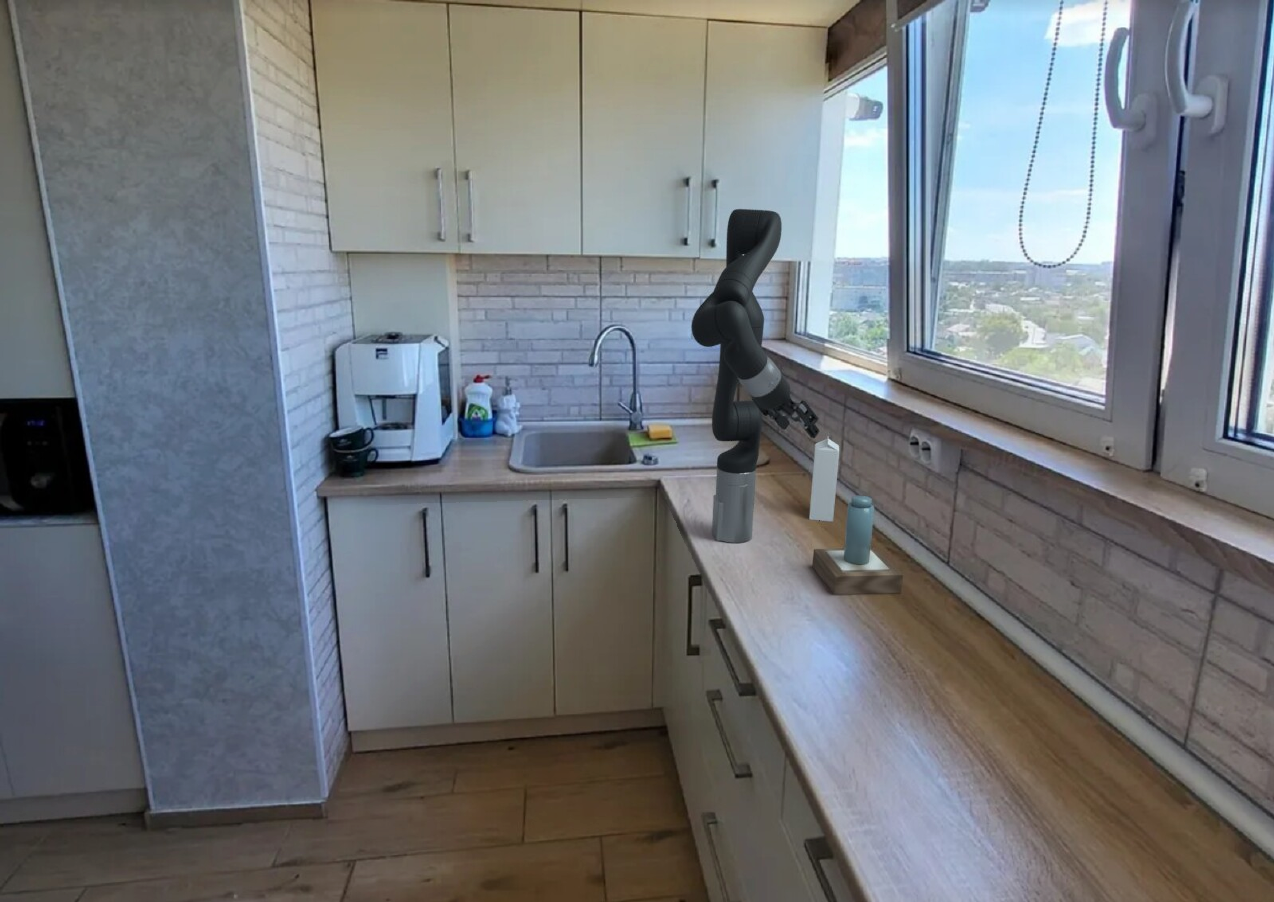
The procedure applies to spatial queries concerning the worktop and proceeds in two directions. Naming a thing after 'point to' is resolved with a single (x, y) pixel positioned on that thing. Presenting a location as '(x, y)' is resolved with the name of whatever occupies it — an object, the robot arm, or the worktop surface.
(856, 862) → the worktop surface
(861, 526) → the blue capped bottle
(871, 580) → the plinth
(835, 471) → the milk
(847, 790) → the worktop surface
